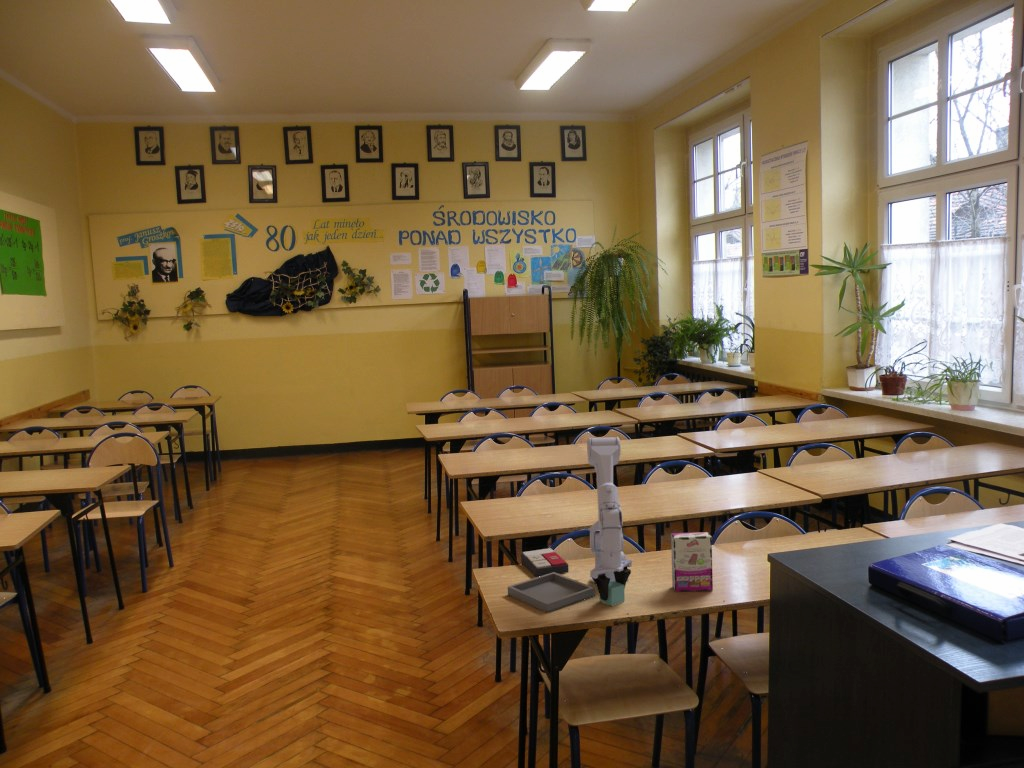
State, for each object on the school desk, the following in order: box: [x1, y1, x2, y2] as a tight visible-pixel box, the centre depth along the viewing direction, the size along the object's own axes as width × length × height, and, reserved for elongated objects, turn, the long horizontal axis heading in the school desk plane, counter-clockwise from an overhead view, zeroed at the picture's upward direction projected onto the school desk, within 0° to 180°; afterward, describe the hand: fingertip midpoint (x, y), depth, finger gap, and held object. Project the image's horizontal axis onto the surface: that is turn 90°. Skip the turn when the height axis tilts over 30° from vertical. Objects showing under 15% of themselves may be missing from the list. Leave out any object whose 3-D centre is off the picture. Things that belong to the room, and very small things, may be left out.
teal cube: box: [598, 580, 626, 607], centre depth 218 cm, size 5×5×5 cm
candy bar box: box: [670, 531, 714, 593], centre depth 225 cm, size 11×5×16 cm, turn 89°
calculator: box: [520, 547, 569, 578], centre depth 248 cm, size 11×4×15 cm
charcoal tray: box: [507, 572, 596, 614], centre depth 224 cm, size 18×18×2 cm
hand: (611, 596), depth 218 cm, fingers open, 6 cm apart
